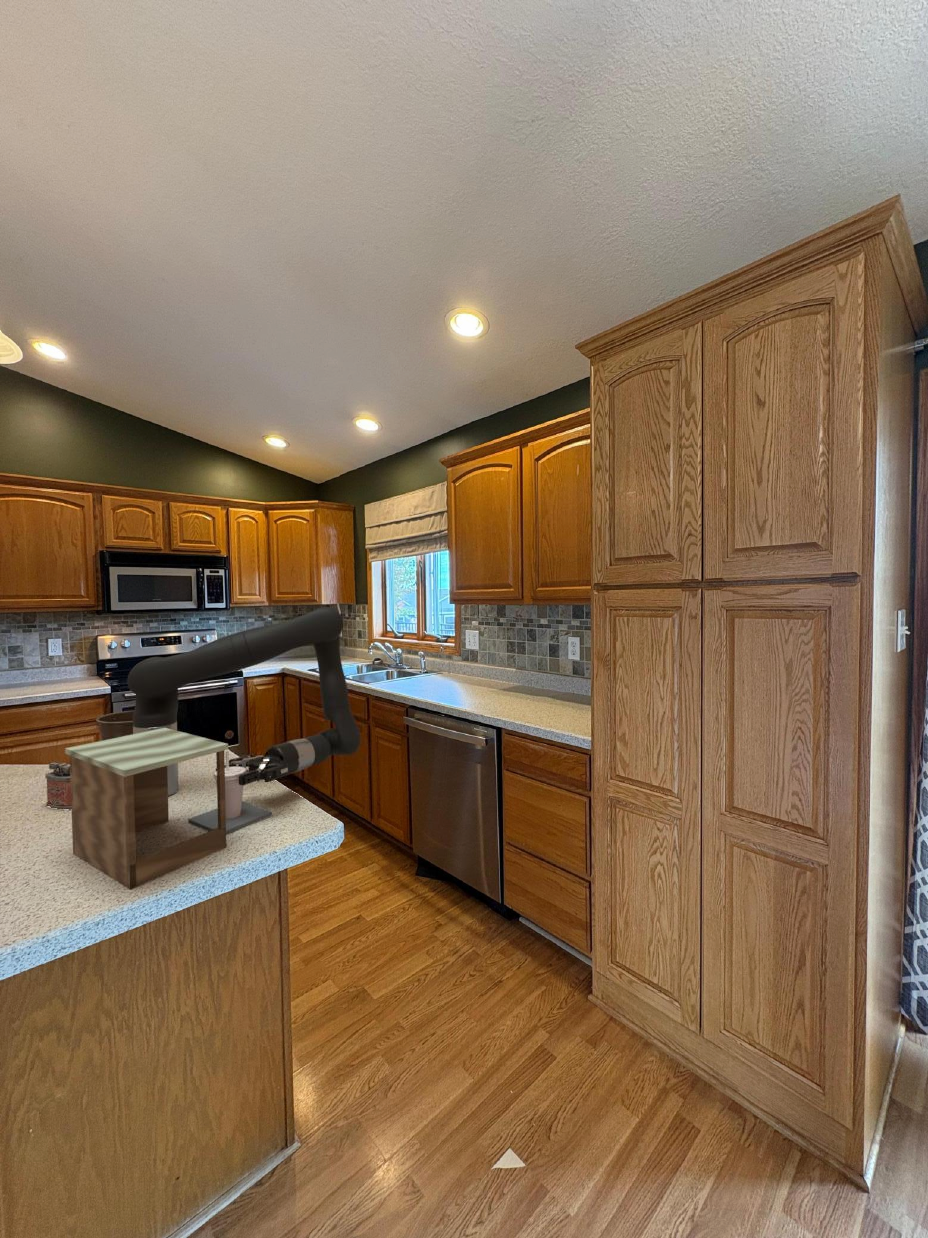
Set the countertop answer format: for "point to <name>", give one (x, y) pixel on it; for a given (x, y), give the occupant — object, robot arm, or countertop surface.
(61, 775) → the lighter
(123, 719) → the plant pot
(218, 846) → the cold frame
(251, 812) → the slate mat
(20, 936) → the countertop surface
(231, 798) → the smoothie
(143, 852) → the countertop surface
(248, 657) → the robot arm
